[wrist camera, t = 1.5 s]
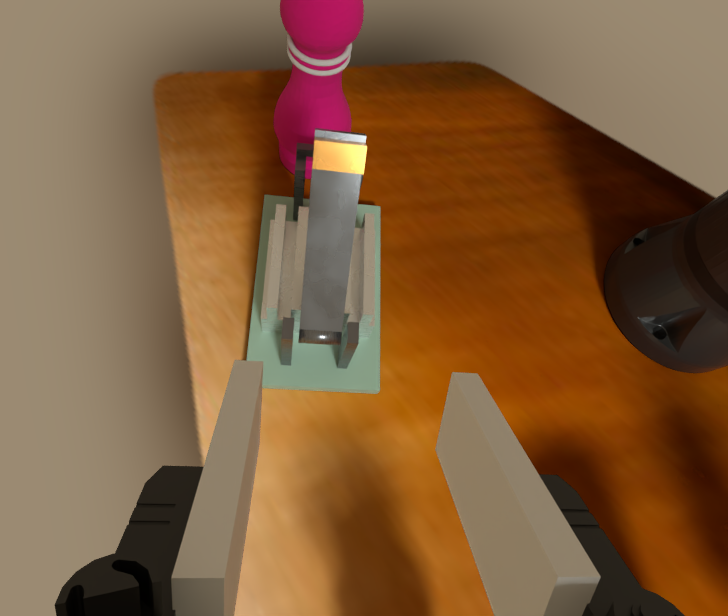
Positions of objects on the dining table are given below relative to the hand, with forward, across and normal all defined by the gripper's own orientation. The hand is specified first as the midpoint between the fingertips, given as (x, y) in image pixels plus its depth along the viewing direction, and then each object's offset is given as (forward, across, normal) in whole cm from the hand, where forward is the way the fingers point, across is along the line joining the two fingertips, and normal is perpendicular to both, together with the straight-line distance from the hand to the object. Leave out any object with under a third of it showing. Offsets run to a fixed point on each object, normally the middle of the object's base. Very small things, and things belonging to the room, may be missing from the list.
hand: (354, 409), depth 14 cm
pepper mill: (+41, -2, +3) cm, 41 cm away
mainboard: (+30, 0, -8) cm, 31 cm away
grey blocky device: (+29, 0, -7) cm, 30 cm away
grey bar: (+20, 0, -1) cm, 20 cm away
